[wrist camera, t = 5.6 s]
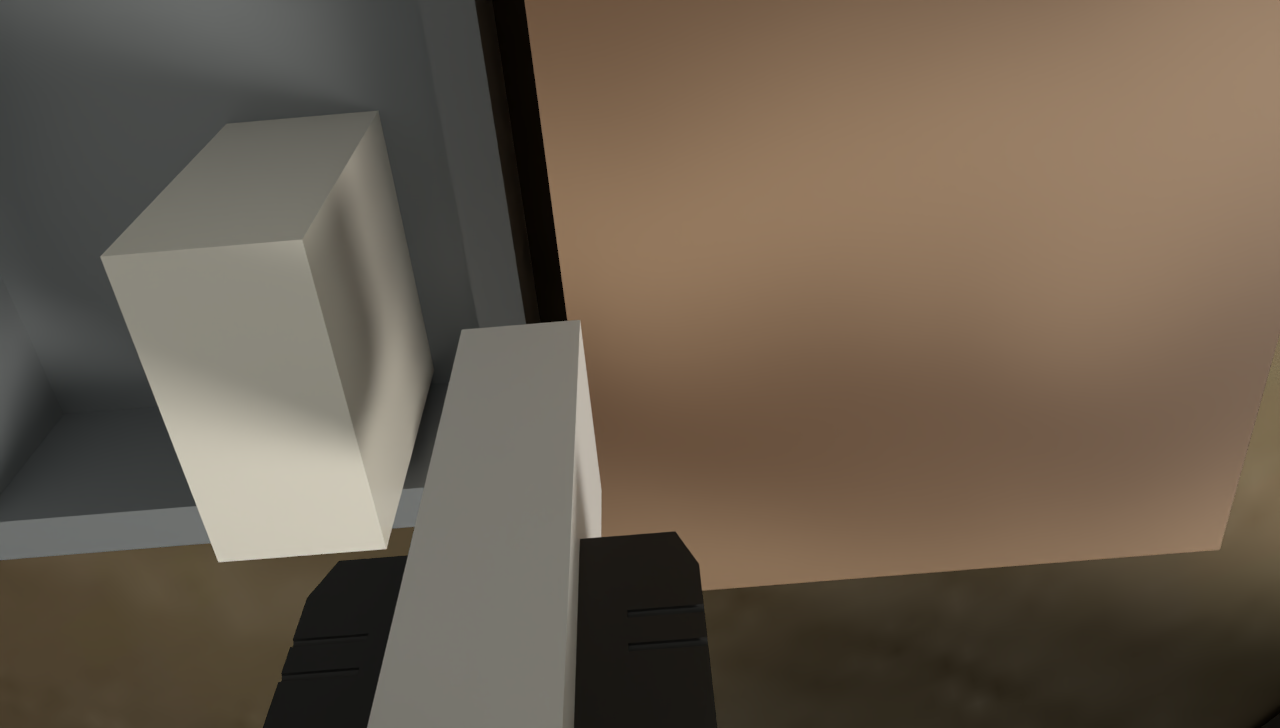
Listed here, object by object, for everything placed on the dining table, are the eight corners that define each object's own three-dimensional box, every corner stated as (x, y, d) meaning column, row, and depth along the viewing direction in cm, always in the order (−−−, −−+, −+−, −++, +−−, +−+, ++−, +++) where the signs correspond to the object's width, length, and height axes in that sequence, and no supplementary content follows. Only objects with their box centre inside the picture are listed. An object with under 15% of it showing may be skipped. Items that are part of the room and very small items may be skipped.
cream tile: (385, 548, 15) (217, 562, 15) (434, 369, 20) (302, 380, 20) (301, 238, 13) (100, 257, 13) (378, 110, 17) (226, 124, 17)
